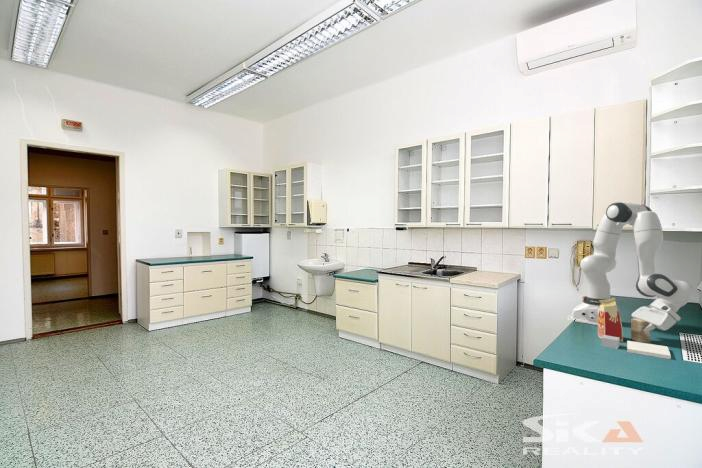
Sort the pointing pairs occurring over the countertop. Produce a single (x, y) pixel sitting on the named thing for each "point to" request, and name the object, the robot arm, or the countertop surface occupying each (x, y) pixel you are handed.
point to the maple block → (639, 331)
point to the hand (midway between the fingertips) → (639, 329)
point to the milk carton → (609, 319)
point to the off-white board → (648, 349)
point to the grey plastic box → (610, 341)
